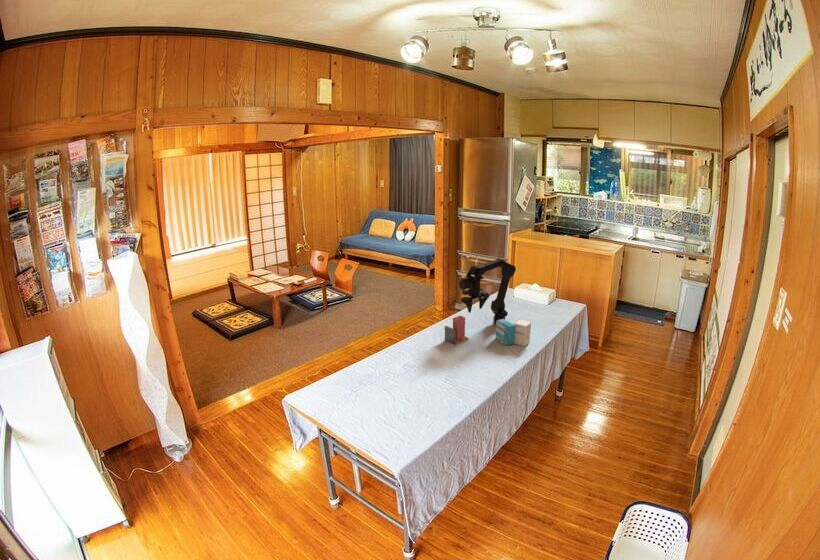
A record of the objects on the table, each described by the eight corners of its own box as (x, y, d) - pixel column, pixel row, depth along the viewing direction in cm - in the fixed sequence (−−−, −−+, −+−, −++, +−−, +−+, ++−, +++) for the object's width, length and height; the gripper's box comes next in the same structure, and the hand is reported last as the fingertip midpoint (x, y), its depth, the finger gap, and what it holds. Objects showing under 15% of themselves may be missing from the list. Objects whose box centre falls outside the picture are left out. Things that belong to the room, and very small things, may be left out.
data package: (495, 338, 252) (496, 319, 248) (501, 336, 253) (502, 318, 250) (508, 346, 241) (509, 327, 238) (514, 344, 243) (515, 325, 239)
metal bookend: (446, 339, 251) (446, 325, 248) (455, 344, 245) (455, 330, 242) (444, 340, 250) (444, 326, 247) (453, 345, 244) (453, 330, 241)
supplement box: (512, 343, 245) (513, 323, 241) (518, 338, 250) (519, 319, 246) (524, 346, 240) (526, 326, 236) (530, 341, 246) (531, 321, 242)
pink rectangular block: (460, 334, 254) (460, 315, 250) (464, 337, 251) (465, 317, 247) (452, 337, 251) (452, 318, 247) (457, 339, 248) (457, 320, 244)
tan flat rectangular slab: (458, 335, 257) (458, 333, 256) (468, 339, 250) (468, 337, 250) (446, 339, 251) (446, 337, 251) (455, 344, 245) (455, 342, 245)
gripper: (477, 280, 265) (476, 303, 270) (454, 286, 255) (454, 310, 259) (490, 284, 256) (489, 308, 261) (467, 291, 246) (467, 316, 251)
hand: (474, 310), depth 258 cm, fingers open, 9 cm apart
